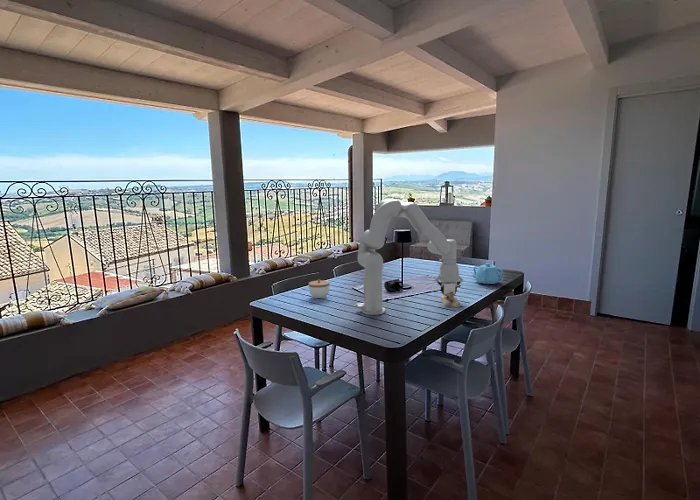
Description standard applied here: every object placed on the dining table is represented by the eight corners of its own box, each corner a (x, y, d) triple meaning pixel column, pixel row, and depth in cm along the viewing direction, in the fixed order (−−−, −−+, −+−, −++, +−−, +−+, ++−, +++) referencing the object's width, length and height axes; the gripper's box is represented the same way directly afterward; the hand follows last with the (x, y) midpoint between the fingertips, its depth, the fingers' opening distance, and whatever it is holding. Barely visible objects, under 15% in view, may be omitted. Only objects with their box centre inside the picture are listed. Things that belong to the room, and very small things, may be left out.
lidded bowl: (327, 300, 213) (326, 282, 211) (306, 300, 215) (305, 281, 214) (332, 294, 225) (331, 277, 223) (312, 294, 228) (312, 277, 226)
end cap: (396, 288, 237) (395, 278, 236) (403, 290, 231) (403, 280, 230) (384, 290, 231) (383, 280, 230) (391, 293, 226) (391, 282, 225)
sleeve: (444, 296, 202) (444, 283, 201) (442, 293, 208) (442, 281, 207) (455, 296, 202) (455, 283, 201) (453, 293, 208) (453, 281, 207)
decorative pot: (470, 280, 251) (471, 261, 249) (494, 279, 252) (494, 260, 249) (480, 286, 235) (480, 266, 233) (504, 285, 235) (505, 265, 233)
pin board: (444, 306, 195) (444, 294, 194) (440, 299, 209) (440, 287, 208) (459, 306, 195) (460, 293, 194) (454, 299, 209) (454, 287, 207)
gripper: (434, 263, 199) (434, 295, 202) (466, 262, 198) (466, 294, 200) (432, 260, 206) (432, 291, 209) (463, 260, 205) (462, 291, 208)
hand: (448, 292), depth 205 cm, fingers closed on sleeve, 5 cm apart
